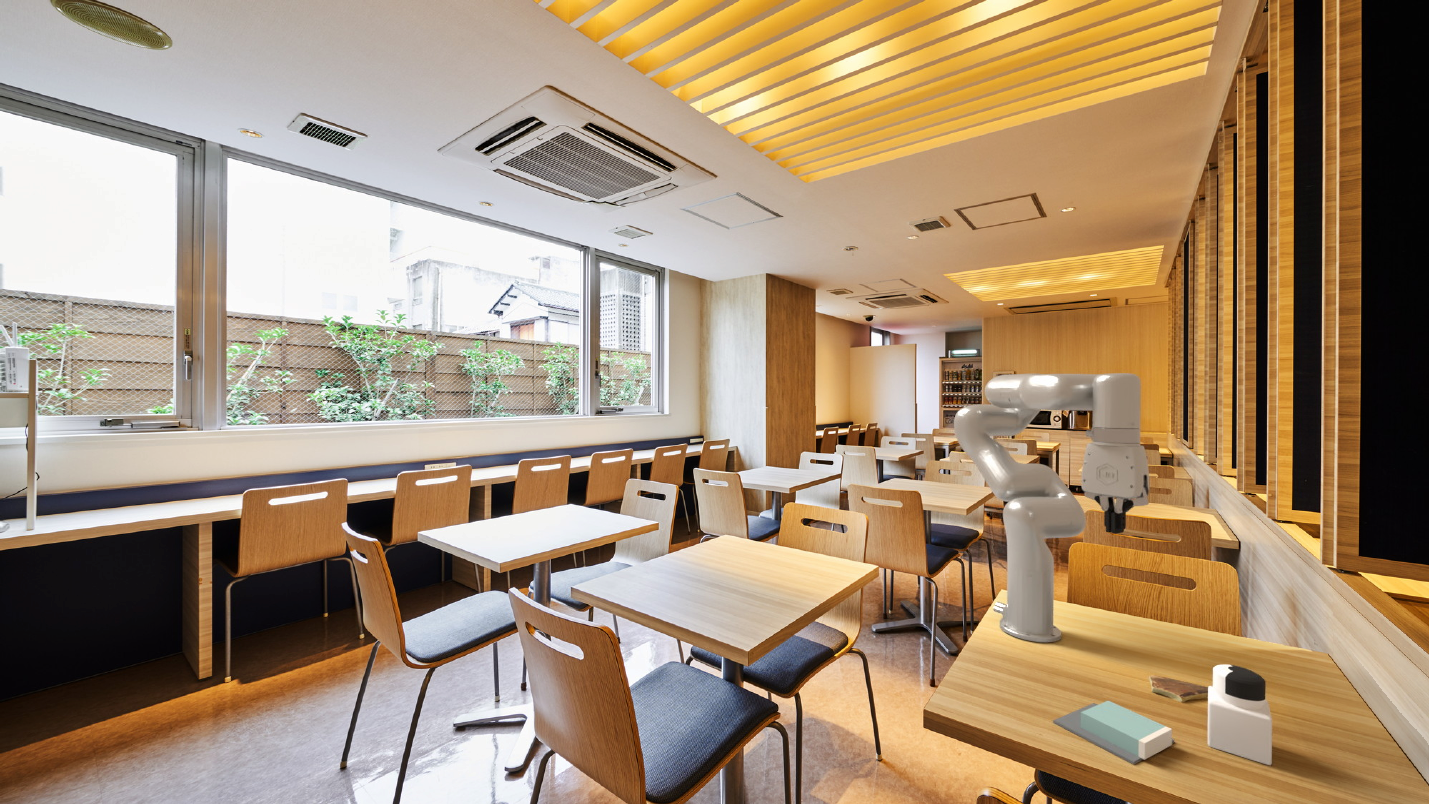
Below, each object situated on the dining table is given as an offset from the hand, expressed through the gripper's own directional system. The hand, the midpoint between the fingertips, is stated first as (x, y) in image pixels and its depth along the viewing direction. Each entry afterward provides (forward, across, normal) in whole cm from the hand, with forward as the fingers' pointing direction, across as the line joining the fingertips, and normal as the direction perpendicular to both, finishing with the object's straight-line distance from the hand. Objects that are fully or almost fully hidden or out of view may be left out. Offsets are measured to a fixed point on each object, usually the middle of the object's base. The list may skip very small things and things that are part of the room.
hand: (1114, 532), depth 107 cm
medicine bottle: (+29, +20, -4) cm, 36 cm away
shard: (+30, +7, +8) cm, 32 cm away
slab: (+28, +6, -18) cm, 33 cm away
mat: (+29, +9, -18) cm, 35 cm away
